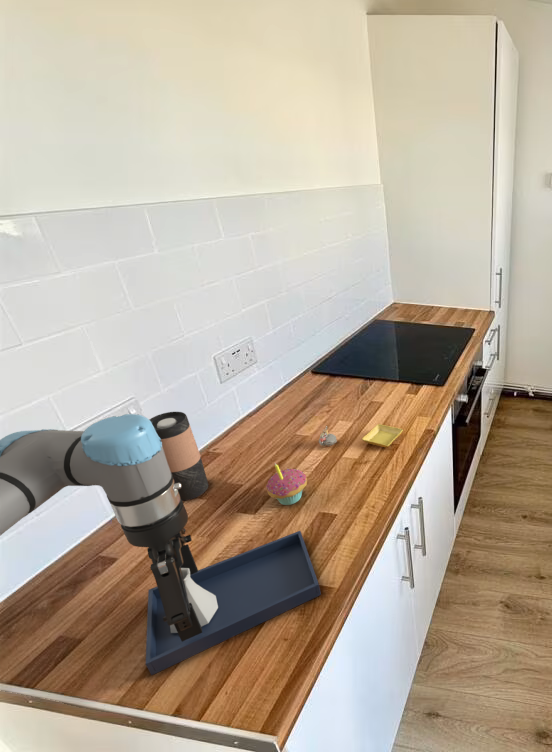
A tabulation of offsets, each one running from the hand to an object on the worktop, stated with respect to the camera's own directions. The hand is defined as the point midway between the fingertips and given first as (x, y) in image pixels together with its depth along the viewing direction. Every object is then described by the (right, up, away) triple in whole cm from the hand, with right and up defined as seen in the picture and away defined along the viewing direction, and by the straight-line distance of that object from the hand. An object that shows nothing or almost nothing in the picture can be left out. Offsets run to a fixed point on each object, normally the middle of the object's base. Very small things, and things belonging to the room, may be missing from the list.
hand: (190, 602), depth 74 cm
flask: (0, -3, +1) cm, 3 cm away
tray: (+5, -2, +5) cm, 7 cm away
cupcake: (+3, +9, +28) cm, 30 cm away
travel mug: (-22, +11, +29) cm, 38 cm away
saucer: (+18, +19, +51) cm, 57 cm away
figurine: (+3, +19, +48) cm, 51 cm away
